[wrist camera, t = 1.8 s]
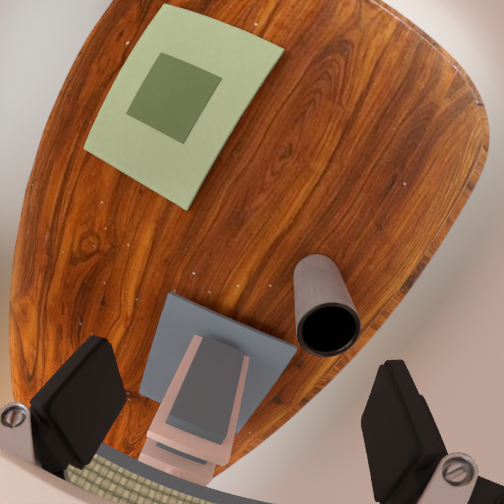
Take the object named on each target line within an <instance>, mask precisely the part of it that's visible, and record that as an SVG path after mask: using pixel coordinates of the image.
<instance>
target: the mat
mask: <svg viewBox="0 0 504 504" xmlns="http://www.w3.org/2000/svg"><path fill="white" fill-rule="evenodd" d="M283 53H284V49H283V48H281V47H279V46H277V45H275V44H273V43H271V42H268V41H266V40H264V39H262V38H260V37H257V36H255V35H253V34H251V33H248V32H246V31H244V30H241V29H239V28H236V27H234V26H231V25H229V24H226V23H224V22H221V21H218V20H216V19H213V18H210V17H207V16H204V15H201V14H198V13H195V12H192V11H189V10H186V9H182V8H179V7H175V6H172V5H168V4H164V5H163V6H162V8H161V9H160V10H159V12H158V13H157V14H156V16H155V17H154V19H153V20H152V21H151V23H150V24H149V26H148V27H147V29H146V30H145V32H144V33H143V35H142V36H141V38H140V39H139V41H138V42H137V44H136V46H135V47H134V49H133V50H132V52H131V54H130V55H129V57H128V59H127V60H126V62H125V64H124V65H123V67H122V69H121V71H120V72H119V74H118V76H117V78H116V80H115V82H114V83H113V85H112V87H111V89H110V91H109V93H108V95H107V97H106V99H105V101H104V103H103V105H102V107H101V109H100V111H99V113H98V115H97V118H96V120H95V122H94V124H93V126H92V129H91V131H90V133H89V136H88V138H87V140H86V143H85V145H84V148H83V149H85V150H87V151H88V152H90V153H92V154H93V155H95V156H97V157H98V158H100V159H102V160H103V161H105V162H107V163H108V164H110V165H112V166H113V167H115V168H117V169H118V170H120V171H122V172H123V173H125V174H127V175H128V176H130V177H132V178H133V179H135V180H137V181H138V182H140V183H142V184H143V185H145V186H147V187H148V188H150V189H152V190H153V191H155V192H157V193H158V194H160V195H162V196H163V197H165V198H167V199H168V200H170V201H171V202H173V203H175V204H176V205H178V206H180V207H181V208H183V209H185V210H188V209H189V207H190V206H191V204H192V202H193V200H194V198H195V196H196V194H197V193H198V191H199V189H200V187H201V185H202V183H203V182H204V180H205V178H206V176H207V174H208V173H209V171H210V169H211V167H212V166H213V164H214V162H215V160H216V159H217V157H218V155H219V153H220V152H221V150H222V148H223V147H224V145H225V143H226V141H227V140H228V138H229V136H230V135H231V133H232V131H233V130H234V128H235V126H236V125H237V123H238V122H239V120H240V118H241V117H242V115H243V113H244V112H245V110H246V109H247V107H248V106H249V104H250V102H251V101H252V99H253V98H254V96H255V95H256V93H257V91H258V90H259V88H260V87H261V85H262V84H263V82H264V81H265V79H266V78H267V76H268V75H269V73H270V72H271V70H272V69H273V67H274V66H275V64H276V63H277V61H278V60H279V59H280V57H281V56H282V54H283Z"/></svg>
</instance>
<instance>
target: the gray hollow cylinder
mask: <svg viewBox="0 0 504 504" xmlns="http://www.w3.org/2000/svg"><path fill="white" fill-rule="evenodd" d="M293 280H294V297H295V316H296V335H297V339H298V342H299V344H300V345H301V347H302V348H303V349H304V350H305V351H307V352H308V353H310V354H312V355H315V356H319V357H331V356H336V355H339V354H341V353H343V352H345V351H347V350H348V349H349V348H351V347H352V346H353V345H354V343H355V342H356V341H357V339H358V337H359V334H360V331H361V321H360V318H359V315H358V313H357V311H356V308H355V306H354V304H353V301H352V299H351V297H350V294H349V292H348V290H347V287H346V285H345V283H344V281H343V278H342V276H341V274H340V272H339V270H338V267H337V266H336V264H335V263H334V261H333V260H331V259H330V258H329V257H327V256H324V255H320V254H314V255H310V256H307V257H305V258H303V259H302V260H301V261H300V262H299V263H298V264H297V266H296V268H295V271H294V277H293Z"/></svg>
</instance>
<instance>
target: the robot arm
mask: <svg viewBox="0 0 504 504" xmlns="http://www.w3.org/2000/svg"><path fill="white" fill-rule="evenodd" d="M126 399H127V396H126V392H125V389H124V386H123V383H122V380H121V376H120V373H119V370H118V366H117V363H116V359H115V356H114V352H113V349H112V345H111V344H110V343H109V342H108V340H107V339H106V338H103V337H98V336H94V335H93V336H90V337H89V338H88V339H87V340H86V341H85V342H84V343H83V344H82V345H81V346H80V347H79V348H78V349H77V350H76V352H75V353H74V354H73V355H72V356H71V357H70V358H69V359H68V360H67V361H66V362H65V363H64V364H63V365H62V366H61V367H60V369H59V370H58V371H57V372H56V373H55V374H54V375H53V376H52V377H51V378H50V379H49V380H48V382H47V383H46V384H45V385H44V386H43V387H42V388H41V389H40V390H39V392H38V393H37V394H36V395H35V396H34V397H33V398H32V399H31V401H30V404H31V407H30V408H28V406H27V405H25V404H24V403H21V402H12V403H9V404H7V405H5V406H4V407H3V408H2V409H1V410H0V504H118V503H115V502H113V501H110V500H107V499H105V498H102V497H100V496H98V495H95V494H93V493H91V492H88V491H86V490H84V489H82V488H79V487H77V486H75V485H73V484H71V482H70V479H69V475H68V470H67V467H68V465H69V464H70V465H71V466H73V467H75V468H78V469H80V470H83V468H84V467H85V465H88V464H90V462H91V461H92V459H93V457H94V455H95V454H96V452H97V450H98V449H99V447H100V445H101V443H102V442H103V440H104V438H105V437H106V435H107V433H108V432H109V430H110V428H111V426H112V425H113V423H114V421H115V420H116V418H117V416H118V415H119V413H120V411H121V410H122V408H123V406H124V405H125V403H126ZM361 428H362V432H363V437H364V442H365V447H366V453H367V458H368V464H369V469H370V475H371V481H372V487H373V493H374V499H375V501H376V502H380V504H504V486H502V485H500V484H497V483H495V482H492V481H490V480H487V479H485V478H482V477H480V476H478V472H479V471H478V466H477V464H476V462H475V460H474V459H473V458H472V457H471V456H469V455H467V454H465V453H459V452H457V453H451V454H448V453H447V450H446V447H445V445H444V443H443V440H442V438H441V435H440V433H439V430H438V428H437V426H436V423H435V421H434V419H433V416H432V414H431V412H430V410H429V407H428V405H427V403H426V401H425V399H424V397H423V396H422V395H419V393H418V390H417V388H416V386H415V384H414V382H413V380H412V377H411V375H410V373H409V371H408V369H407V367H406V365H405V363H404V361H403V360H387V361H385V363H384V365H380V367H379V369H378V372H377V375H376V379H375V381H374V385H373V387H372V390H371V393H370V396H369V399H368V402H367V404H366V407H365V410H364V412H363V415H362V418H361Z"/></svg>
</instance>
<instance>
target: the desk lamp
mask: <svg viewBox="0 0 504 504" xmlns="http://www.w3.org/2000/svg"><path fill="white" fill-rule="evenodd" d="M297 350H298V346H296V345H294V344H291V343H289V342H286V341H284V340H281V339H279V338H276V337H274V336H271V335H269V334H266V333H264V332H261V331H259V330H257V329H254V328H252V327H249V326H247V325H245V324H242V323H240V322H238V321H235V320H233V319H231V318H228V317H226V316H224V315H221V314H219V313H217V312H215V311H212V310H210V309H208V308H206V307H204V306H201V305H199V304H197V303H195V302H193V301H190V300H188V299H186V298H184V297H182V296H180V295H178V294H176V293H173V292H171V291H170V292H169V293H168V296H167V299H166V302H165V305H164V308H163V311H162V314H161V317H160V321H159V324H158V327H157V330H156V334H155V337H154V340H153V343H152V347H151V350H150V354H149V357H148V361H147V364H146V368H145V371H144V375H143V378H142V382H141V386H140V389H139V393H140V394H142V395H144V396H146V397H148V398H150V399H152V400H154V401H156V402H159V403H161V405H160V407H159V409H158V411H157V413H156V415H155V417H154V419H153V421H152V423H151V426H150V428H149V430H148V432H147V435H146V436H147V437H148V438H147V440H146V442H145V444H144V446H143V449H142V451H141V453H140V456H139V459H138V460H136V459H134V458H132V457H130V456H128V455H126V454H124V453H122V452H120V451H118V450H116V449H114V448H112V447H110V446H108V445H106V444H105V443H103V442H102V443H101V445H100V447H99V449H98V450H97V452H96V454H95V455H94V457H93V459H92V461H91V462H90V464H88V465H85V467H84V468H83V470H80V469H78V468H75V467H73V466H71V465H70V464H69V465H68V467H67V470H68V475H69V479H70V482H71V484H73V485H75V486H77V487H79V488H82V489H84V490H86V491H88V492H91V493H93V494H95V495H98V496H100V497H102V498H105V499H107V500H110V501H113V502H115V503H118V504H271V503H266V502H261V501H257V500H253V499H248V498H244V497H240V496H236V495H232V494H229V493H225V492H221V491H218V490H215V489H211V488H208V487H206V486H207V484H208V483H209V482H210V481H211V480H212V478H213V473H214V469H215V465H216V464H218V465H221V466H225V465H226V464H227V463H228V462H229V459H230V454H231V449H232V445H233V440H234V435H235V433H236V434H238V432H239V431H240V430H241V429H242V427H243V426H244V425H245V423H246V422H247V421H248V419H249V418H250V417H251V415H252V414H253V413H254V411H255V410H256V409H257V407H258V406H259V405H260V403H261V402H262V400H263V399H264V398H265V396H266V395H267V394H268V392H269V391H270V389H271V388H272V387H273V385H274V384H275V382H276V381H277V379H278V378H279V376H280V375H281V374H282V372H283V371H284V369H285V368H286V366H287V365H288V363H289V362H290V360H291V359H292V357H293V356H294V354H295V353H296V351H297Z"/></svg>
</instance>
